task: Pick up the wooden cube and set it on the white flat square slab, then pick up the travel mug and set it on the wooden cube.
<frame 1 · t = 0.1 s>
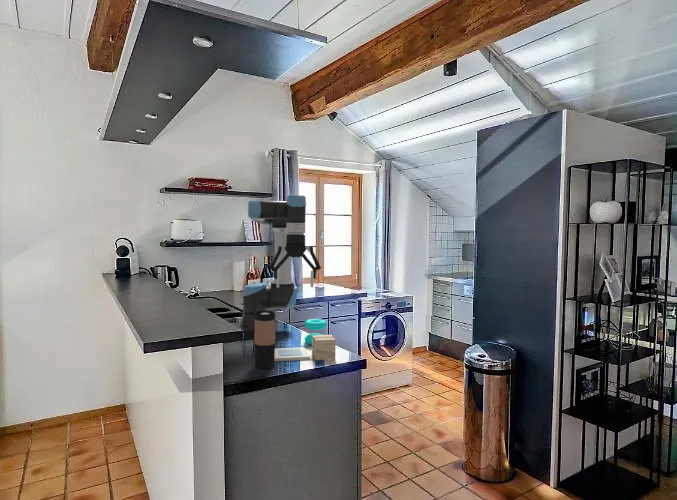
hand: (295, 287, 176), 28 cm above the countertop, tool pointing down, fingers open, 13 cm apart
donuts: (315, 343, 200), on the countertop
white flat square slab: (289, 355, 178), on the countertop
wooden cube: (323, 357, 177), on the countertop
travel mug: (264, 366, 164), on the countertop
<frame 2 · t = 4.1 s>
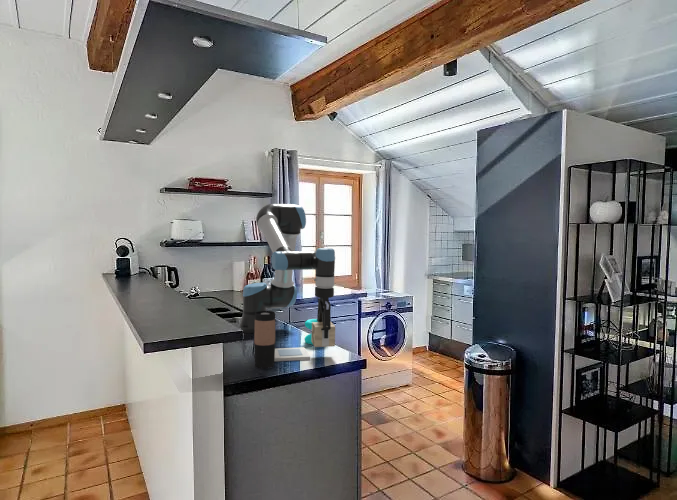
hand: (323, 342, 178), 6 cm above the countertop, tool pointing down, fingers closed on wooden cube, 8 cm apart
wooden cube: (322, 343, 178), point 5 cm above the countertop, touching gripper
everything else where it was.
when the fingers open (2 cm above the countertop, at t = 10.3 s): wooden cube stays where it is, resting on white flat square slab.
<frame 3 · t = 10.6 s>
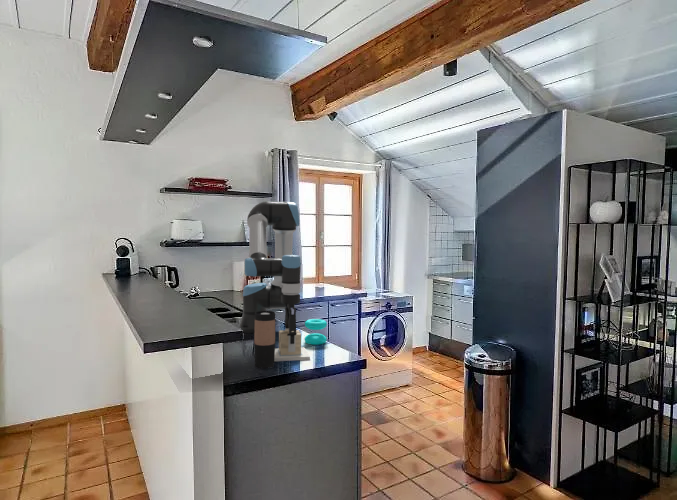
hand: (289, 347, 178), 3 cm above the countertop, tool pointing down, fingers open, 11 cm apart
wooden cube: (289, 352, 178), point 1 cm above the countertop, touching white flat square slab
everything else where it was.
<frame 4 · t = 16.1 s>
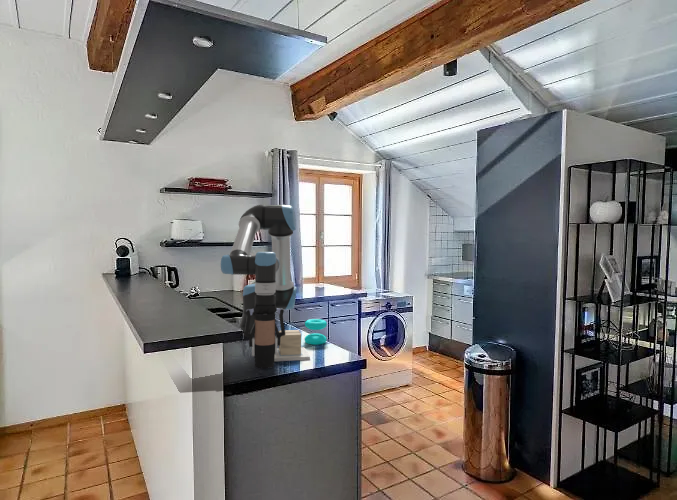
hand: (264, 354, 164), 4 cm above the countertop, tool pointing down, fingers closed on travel mug, 8 cm apart
travel mug: (264, 366, 164), on the countertop, touching gripper
everything else where it was.
when the fingers open (15 cm above the countertop, at t = 22.3 s): travel mug drops 1 cm, resting on wooden cube.
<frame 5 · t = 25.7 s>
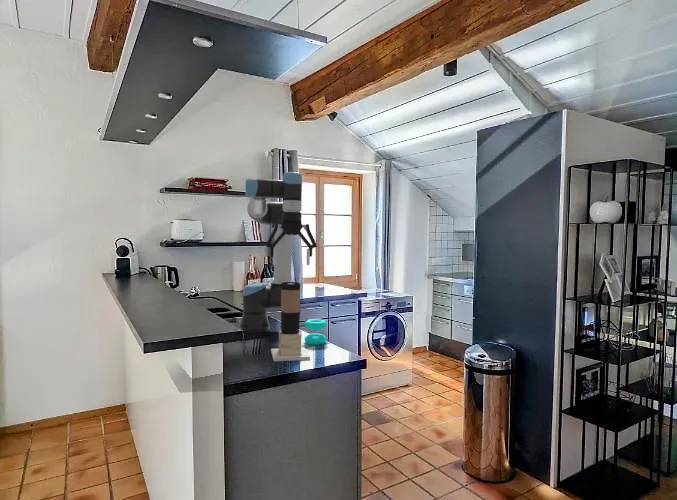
hand: (291, 264, 177), 37 cm above the countertop, tool pointing down, fingers open, 13 cm apart
wooden cube: (289, 352, 178), point 1 cm above the countertop, touching white flat square slab, travel mug
travel mug: (290, 332, 178), point 9 cm above the countertop, touching wooden cube
everything else where it was.
at the end: wooden cube 0.1 cm off-centre on the white flat square slab, point 1.4 cm above the white flat square slab's base; travel mug 0.1 cm off-centre on the wooden cube, point 7.8 cm above the wooden cube's base; travel mug tilted 0° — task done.
